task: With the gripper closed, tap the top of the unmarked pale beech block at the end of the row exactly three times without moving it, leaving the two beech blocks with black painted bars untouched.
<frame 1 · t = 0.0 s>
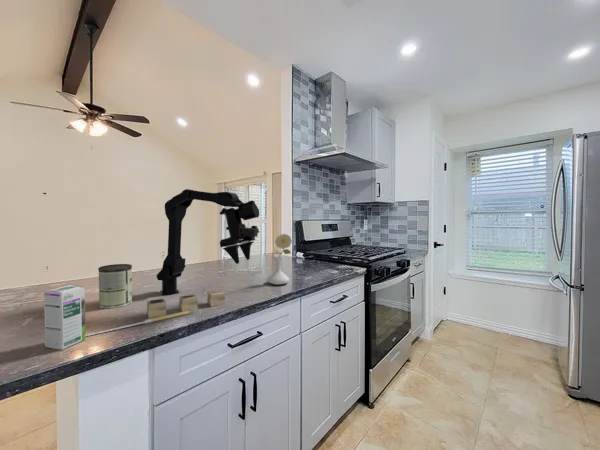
hand: (243, 261, 105), 15 cm above the worktop, tool pointing down, fingers open, 9 cm apart
marked block 1: (156, 314, 89), on the worktop
plain block: (216, 304, 101), on the worktop
marked block 2: (188, 309, 95), on the worktop
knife: (132, 326, 81), on the worktop
syrup box: (65, 344, 68), on the worktop
coffee can: (116, 304, 99), on the worktop
flower in vase: (279, 283, 132), on the worktop
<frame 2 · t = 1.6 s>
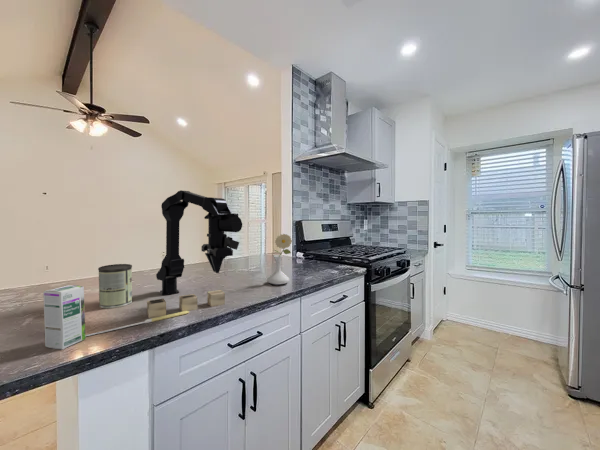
hand: (216, 272, 100), 12 cm above the worktop, tool pointing down, fingers closed
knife: (132, 326, 81), on the worktop, touching syrup box
syrup box: (65, 344, 68), on the worktop, touching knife
everything else where it was.
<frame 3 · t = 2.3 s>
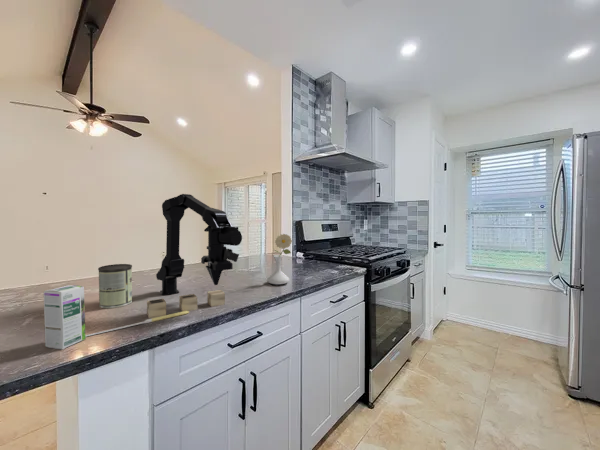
hand: (215, 284, 100), 7 cm above the worktop, tool pointing down, fingers closed
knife: (132, 326, 81), on the worktop
syrup box: (65, 344, 68), on the worktop
everything else where it was.
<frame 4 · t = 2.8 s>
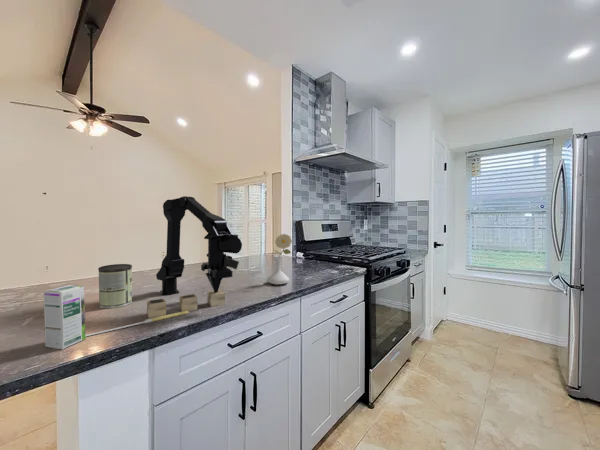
hand: (215, 292, 101), 4 cm above the worktop, tool pointing down, fingers closed, pressing on plain block
plain block: (216, 303, 101), on the worktop, touching gripper
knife: (132, 326, 81), on the worktop, touching syrup box
syrup box: (65, 344, 68), on the worktop, touching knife
everything else where it was.
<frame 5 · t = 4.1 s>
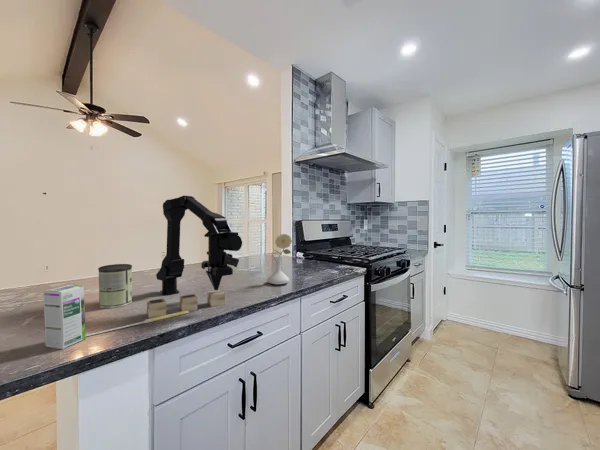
hand: (216, 290, 100), 5 cm above the worktop, tool pointing down, fingers closed
plain block: (216, 304, 101), on the worktop
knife: (132, 326, 81), on the worktop
syrup box: (65, 343, 69), on the worktop
everything else where it was.
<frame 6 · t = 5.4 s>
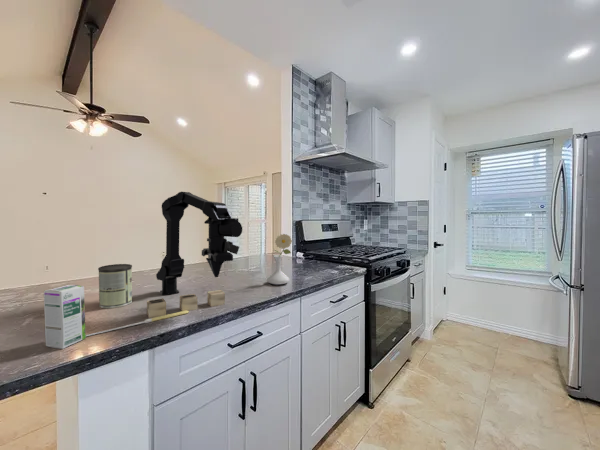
hand: (216, 277, 100), 10 cm above the worktop, tool pointing down, fingers closed
nothing on the worktop moved.
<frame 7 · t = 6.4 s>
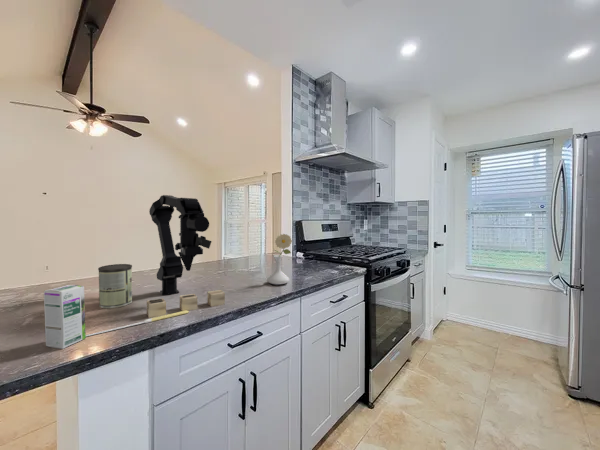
hand: (188, 270, 103), 12 cm above the worktop, tool pointing down, fingers closed
nothing on the worktop moved.
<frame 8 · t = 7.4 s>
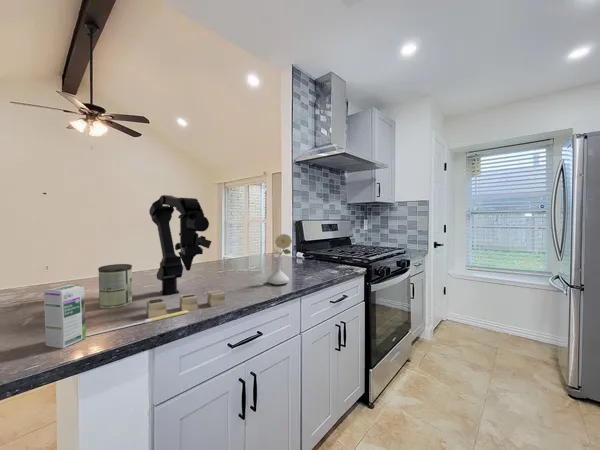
hand: (188, 270, 103), 12 cm above the worktop, tool pointing down, fingers closed
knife: (132, 326, 81), on the worktop, touching syrup box
syrup box: (66, 343, 69), on the worktop, touching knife
everything else where it was.
at the end: plain block moved 0.2 cm from its start; plain block tilted 0°; marked block 2 moved 0.5 cm from its start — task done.
